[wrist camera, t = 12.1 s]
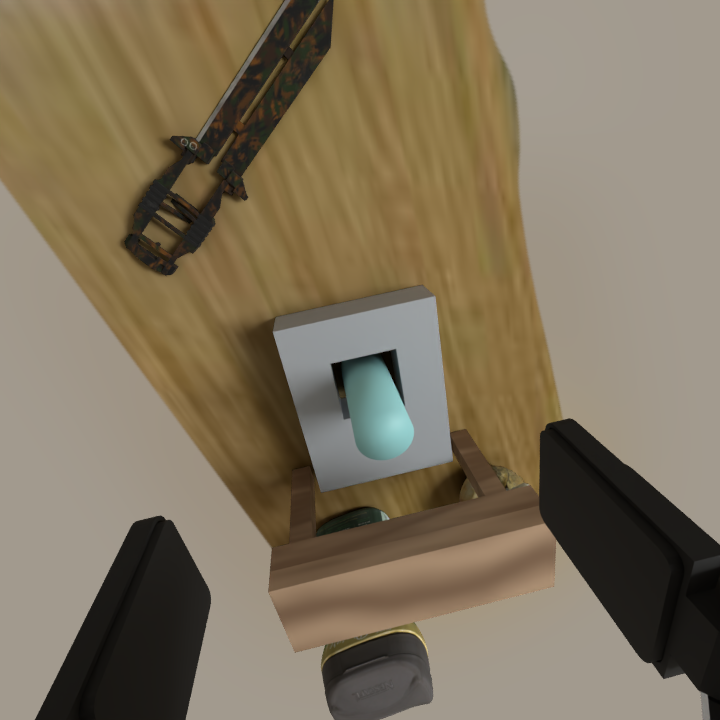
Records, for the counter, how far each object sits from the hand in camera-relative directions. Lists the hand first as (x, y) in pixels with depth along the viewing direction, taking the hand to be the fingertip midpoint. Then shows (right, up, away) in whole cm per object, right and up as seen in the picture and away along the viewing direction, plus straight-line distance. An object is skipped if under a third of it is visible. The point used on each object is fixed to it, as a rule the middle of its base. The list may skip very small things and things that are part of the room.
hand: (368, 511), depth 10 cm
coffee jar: (-1, -17, +39) cm, 43 cm away
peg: (0, +3, +30) cm, 30 cm away
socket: (0, +1, +31) cm, 31 cm away
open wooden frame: (+2, -5, +34) cm, 34 cm away
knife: (-10, +22, +21) cm, 32 cm away
